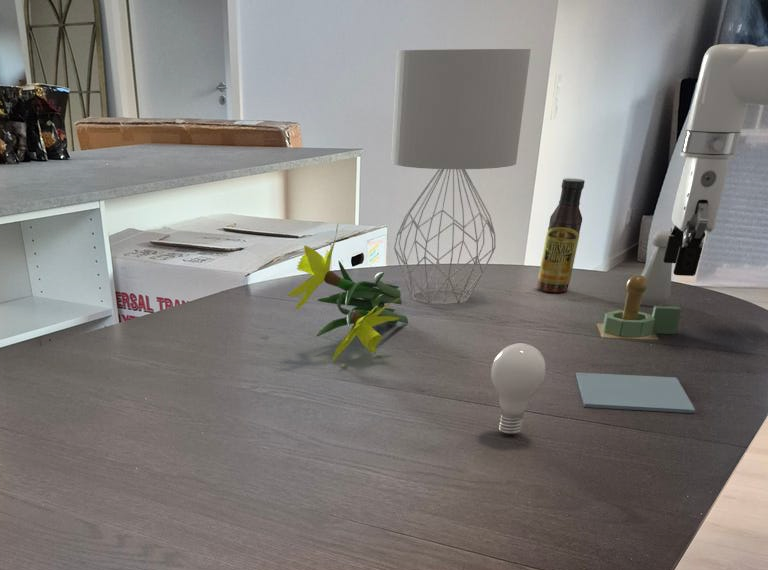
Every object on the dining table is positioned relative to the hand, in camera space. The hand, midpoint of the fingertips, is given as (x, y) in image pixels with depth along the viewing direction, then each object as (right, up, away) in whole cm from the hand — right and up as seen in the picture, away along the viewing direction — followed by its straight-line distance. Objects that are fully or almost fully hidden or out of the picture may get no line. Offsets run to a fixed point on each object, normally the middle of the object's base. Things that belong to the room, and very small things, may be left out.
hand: (678, 268), depth 135 cm
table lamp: (-32, +8, +31) cm, 46 cm away
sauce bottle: (-9, +11, +35) cm, 38 cm away
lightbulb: (-35, -34, -30) cm, 57 cm away
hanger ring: (-4, -8, +6) cm, 11 cm away
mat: (-15, -25, -18) cm, 34 cm away
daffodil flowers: (-51, -10, +5) cm, 52 cm away
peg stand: (-6, -8, +7) cm, 12 cm away
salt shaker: (+5, +2, +23) cm, 24 cm away
